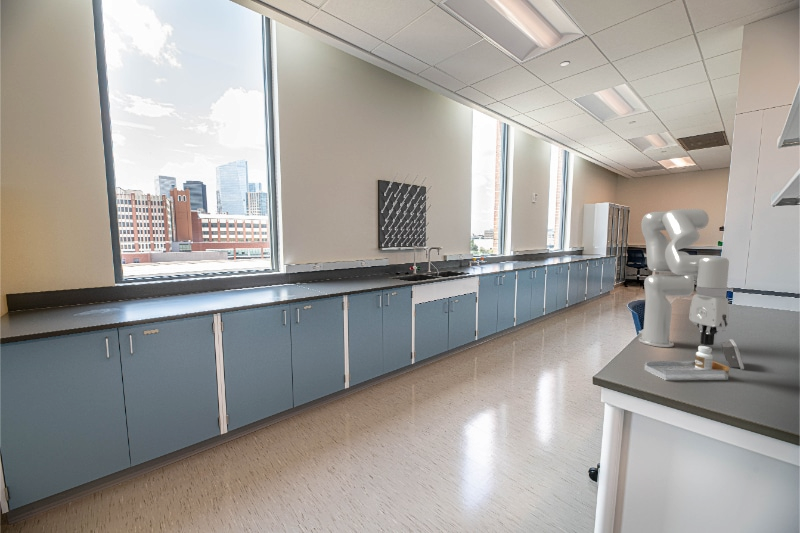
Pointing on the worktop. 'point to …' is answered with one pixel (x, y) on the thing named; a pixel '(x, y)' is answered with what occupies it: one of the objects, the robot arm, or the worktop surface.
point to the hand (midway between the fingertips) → (706, 344)
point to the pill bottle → (704, 358)
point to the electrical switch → (732, 354)
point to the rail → (686, 370)
